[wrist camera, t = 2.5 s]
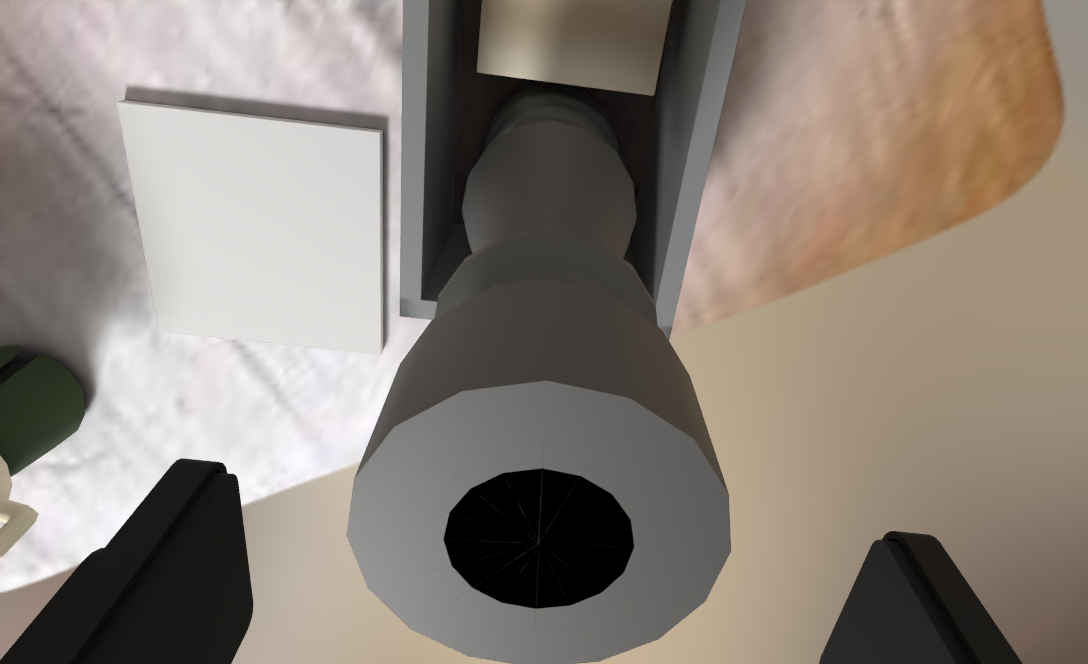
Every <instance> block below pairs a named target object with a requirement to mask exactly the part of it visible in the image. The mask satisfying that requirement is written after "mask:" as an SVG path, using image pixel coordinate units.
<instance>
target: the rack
mask: <svg viewBox="0 0 1088 664" xmlns="http://www.w3.org/2000/svg"><path fill="white" fill-rule="evenodd" d="M746 1H747V0H674V2H673V8H672V13H671V19H670V24H669V30H668V35H667V41H666V46H665V52H664V57H663V63H662V68H661V74H660V79H659V85H658V90H657V96H656V101H655V107H654V112H653V118H652V123H651V128H650V134H649V139H648V145H647V150H646V156H645V161H644V167H643V172H642V178H641V183H640V189H639V194H638V200H637V205H636V214H637V219H636V222H635V225H634V228H633V232H632V235H631V238H630V243H629V244H628V247H627V250H626V253H625V255H624V257H623V259H624V260H626V261H627V262H628V263H630V264H631V265H632V266H633V267H634V269H635V271H636V273H637V274H638V276H639V278H640V279H641V281H642V283H643V284H644V286H645V288H646V289H647V291H648V293H649V294H650V296H651V298H652V299H653V301H654V303H655V306H656V314H657V325H658V327H659V328H661V329H662V330H663V332H664V334H665V335H666V337H667V339H668V340H669V338H670V334H671V329H672V325H673V321H674V316H675V312H676V307H677V303H678V299H679V294H680V290H681V286H682V281H683V277H684V272H685V268H686V264H687V259H688V255H689V250H690V246H691V242H692V237H693V233H694V229H695V224H696V220H697V215H698V211H699V207H700V202H701V198H702V194H703V189H704V185H705V180H706V176H707V172H708V167H709V163H710V159H711V154H712V150H713V145H714V141H715V137H716V132H717V128H718V124H719V119H720V115H721V110H722V106H723V102H724V97H725V93H726V88H727V84H728V80H729V75H730V71H731V67H732V62H733V58H734V53H735V49H736V45H737V40H738V36H739V32H740V27H741V23H742V18H743V14H744V10H745V5H746ZM463 4H464V0H403V63H402V156H401V248H400V316H402V317H411V318H420V319H430V320H433V319H434V317H435V312H436V306H437V301H438V297H439V294H440V293H441V291H442V290H443V288H444V287H445V286H446V284H447V283H448V282H449V280H450V279H451V277H452V276H453V275H454V273H455V272H456V270H457V269H458V268H459V266H460V265H461V263H462V262H463V261H464V259H465V258H466V257H468V256H470V255H471V254H473V253H472V250H471V248H470V245H469V241H468V237H467V232H466V228H465V225H464V224H455V223H453V208H454V188H455V167H456V147H457V127H458V106H459V86H460V66H461V45H462V25H463Z"/></svg>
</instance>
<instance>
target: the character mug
mask: <svg viewBox="0 0 1088 664" xmlns="http://www.w3.org/2000/svg"><path fill="white" fill-rule="evenodd" d="M22 349H24V348H23V347H20V346H7V347H0V521H2V522H6V524H5V525H4V526H3V527H2V528H1V529H0V558H2V557H3V556H4V555H5V554H6V553H7V552H8V551H9V549H10V548H11V547H12V546H13V545H14V544H15V543H16V542H17V541H18V540H19V539H20V538H21V537H22V536H23V535H24V534H25V533H26V532H27V531H28V530H29V528H30V527H31V526H32V525H33V524H34V523H35V521H36V519H37V517H38V513H37V512H36V511H35V510H34V509H32V508H31V507H29V506H28V505H24V504H21V503H17V502H14V501H10V500H8V499H9V495H10V491H11V487H12V482H11V478H10V477H11V476H13V475H15V474H17V473H18V472H20V471H21V470H22V469H24V468H25V467H27V466H28V465H30V464H31V463H33V462H34V461H36V460H37V459H38V458H40V457H41V456H43V455H44V454H46V453H47V452H49V451H50V450H52V449H53V448H55V447H56V446H57V445H59V444H60V443H61V442H63V441H64V440H65V439H67V438H68V437H69V436H71V435H72V434H73V433H75V432H76V431H77V430H78V428H79V426H80V424H81V422H82V419H83V417H84V415H85V406H84V391H83V390H82V388H81V387H80V385H79V384H78V383H77V381H76V380H75V378H74V377H73V375H72V374H71V372H70V371H69V370H67V369H66V368H65V367H63V366H62V365H61V364H59V363H58V362H56V361H55V360H54V359H52V358H51V357H50V356H48V355H45V354H40V355H38V356H37V357H36V358H34V359H33V360H32V361H31V362H29V363H28V364H27V365H25V364H23V363H17V362H9V361H10V360H11V359H12V358H13V357H14V356H16V355H17V354H18V353H19V352H20V351H21V350H22Z"/></svg>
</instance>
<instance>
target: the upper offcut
mask: <svg viewBox="0 0 1088 664" xmlns="http://www.w3.org/2000/svg"><path fill="white" fill-rule="evenodd" d="M671 5H672V0H482V6H481V20H480V34H479V48H478V63H477V73H485V74H492V75H500V76H507V77H515V78H523V79H530V80H538V81H545V82H553V83H560V84H568V85H576V86H583V87H591V88H598V89H606V90H613V91H621V92H629V93H636V94H644V95H651V96H654V93H655V88H656V83H657V78H658V73H659V67H660V62H661V57H662V52H663V46H664V41H665V36H666V31H667V26H668V20H669V15H670V10H671Z"/></svg>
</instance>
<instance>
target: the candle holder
mask: <svg viewBox="0 0 1088 664" xmlns="http://www.w3.org/2000/svg"><path fill="white" fill-rule="evenodd" d="M462 215H463V219H464V223H465V228H466V232H467V237H468V241H469V245H470V248H471V250H472V253H473V254H471V255H470V256H468V257H466V258H465V259H464V261H463V262H462V263H461V265H460V266H459V268H458V269H457V270H456V272H455V273H454V275H453V276H452V277H451V279H450V280H449V282H448V283H447V284H446V286H445V287H444V288H443V290H442V291H441V293H440V294H439V297H438V301H437V306H436V312H435V317H434V319H433V320H432V321H431V322H430V324H429V325H428V326H427V328H426V329H425V331H424V332H423V333H422V335H421V336H420V337H419V339H418V340H417V341H416V343H415V344H414V346H413V347H412V348H411V350H410V351H409V352H408V354H407V355H406V357H405V358H404V359H403V361H402V362H401V363H400V366H399V368H398V371H397V373H396V376H395V378H394V381H393V383H392V386H391V388H390V391H389V393H388V396H387V398H386V401H385V403H384V406H383V408H382V411H381V413H380V416H379V418H378V421H377V423H376V426H375V428H374V431H373V433H372V436H371V438H370V441H369V443H368V446H367V448H366V451H365V453H364V456H363V458H362V461H361V463H360V466H359V468H358V471H357V473H356V476H355V478H354V484H353V492H352V499H351V506H350V514H349V521H348V529H347V538H348V540H349V543H350V545H351V547H352V550H353V553H354V555H355V558H356V560H357V563H358V565H359V567H360V570H361V572H362V575H363V577H364V580H365V583H366V585H367V587H368V589H369V590H371V591H372V592H373V593H374V594H375V595H376V596H377V597H378V598H379V599H380V600H381V601H382V602H383V603H384V604H385V605H386V606H387V607H388V608H389V609H390V610H391V611H392V612H394V614H395V615H396V616H397V617H398V618H400V619H401V620H402V621H403V622H404V623H405V624H406V625H407V626H408V627H409V628H410V629H411V630H413V631H416V632H418V633H420V634H422V635H424V636H426V637H428V638H430V639H433V640H435V641H437V642H439V643H441V644H443V645H445V646H448V647H450V648H452V649H454V650H456V651H458V652H460V653H462V654H465V655H467V656H470V657H475V658H481V659H487V660H493V661H499V662H505V663H512V664H576V663H587V662H598V661H601V660H604V659H607V658H610V657H612V656H615V655H618V654H620V653H623V652H625V651H628V650H631V649H634V648H636V647H639V646H641V645H644V644H647V643H650V642H652V641H655V640H657V639H659V638H661V637H662V636H663V635H664V634H666V633H667V632H668V631H669V630H670V629H672V628H673V627H674V626H675V625H676V624H678V623H679V622H680V621H681V620H683V619H684V618H685V617H686V616H688V615H689V614H690V613H691V612H693V611H694V610H695V609H696V608H698V607H699V606H700V605H701V604H703V603H704V602H705V601H706V599H707V597H708V594H709V593H710V591H711V589H712V587H713V585H714V583H715V581H716V579H717V577H718V575H719V573H720V571H721V569H722V567H723V566H724V564H725V562H726V560H727V558H728V556H729V554H730V552H731V540H730V515H729V494H728V490H727V487H726V484H725V482H724V478H723V475H722V472H721V469H720V466H719V463H718V461H717V457H716V454H715V451H714V448H713V445H712V442H711V439H710V436H709V433H708V430H707V427H706V424H705V421H704V418H703V415H702V412H701V409H700V406H699V403H698V400H697V396H696V393H695V390H694V387H693V384H692V382H691V378H690V376H689V374H688V372H687V370H686V369H685V367H684V365H683V364H682V362H681V361H680V359H679V357H678V356H677V354H676V352H675V351H674V349H673V347H672V346H671V344H670V342H669V340H668V339H667V337H666V335H665V334H664V332H663V330H662V329H661V328H659V327H658V325H657V314H656V306H655V303H654V301H653V299H652V298H651V296H650V294H649V293H648V291H647V289H646V288H645V286H644V284H643V283H642V281H641V279H640V278H639V276H638V274H637V273H636V271H635V269H634V267H633V266H632V265H631V264H630V263H628V262H627V261H626V260H624V259H623V257H624V255H625V253H626V250H627V247H628V244H629V241H630V238H631V235H632V232H633V228H634V225H635V222H636V219H637V214H636V204H635V194H634V184H633V182H632V179H631V177H630V176H629V174H628V172H627V170H626V168H625V167H624V165H623V163H622V161H621V156H620V146H619V141H618V138H617V135H616V132H615V130H614V127H613V125H612V123H611V121H610V120H609V118H608V116H607V114H606V112H605V111H604V109H603V107H602V105H601V104H600V103H599V102H598V101H597V100H595V99H594V98H593V97H591V96H590V95H589V94H588V93H586V92H585V91H584V90H582V89H581V88H580V87H576V86H572V85H568V84H560V83H553V82H545V83H539V84H533V85H528V86H526V87H525V88H523V89H522V90H520V91H519V92H517V93H515V94H514V95H512V96H511V97H509V98H508V99H506V100H505V102H504V103H503V105H502V106H501V108H500V109H499V111H498V112H497V114H496V115H495V117H494V118H493V120H492V121H491V123H490V126H489V128H488V130H487V132H486V135H485V138H484V143H483V148H482V153H481V157H480V159H479V160H478V161H477V163H476V164H475V166H474V167H473V169H472V170H471V172H470V174H469V176H468V179H467V184H466V190H465V195H464V200H463V206H462Z"/></svg>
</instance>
